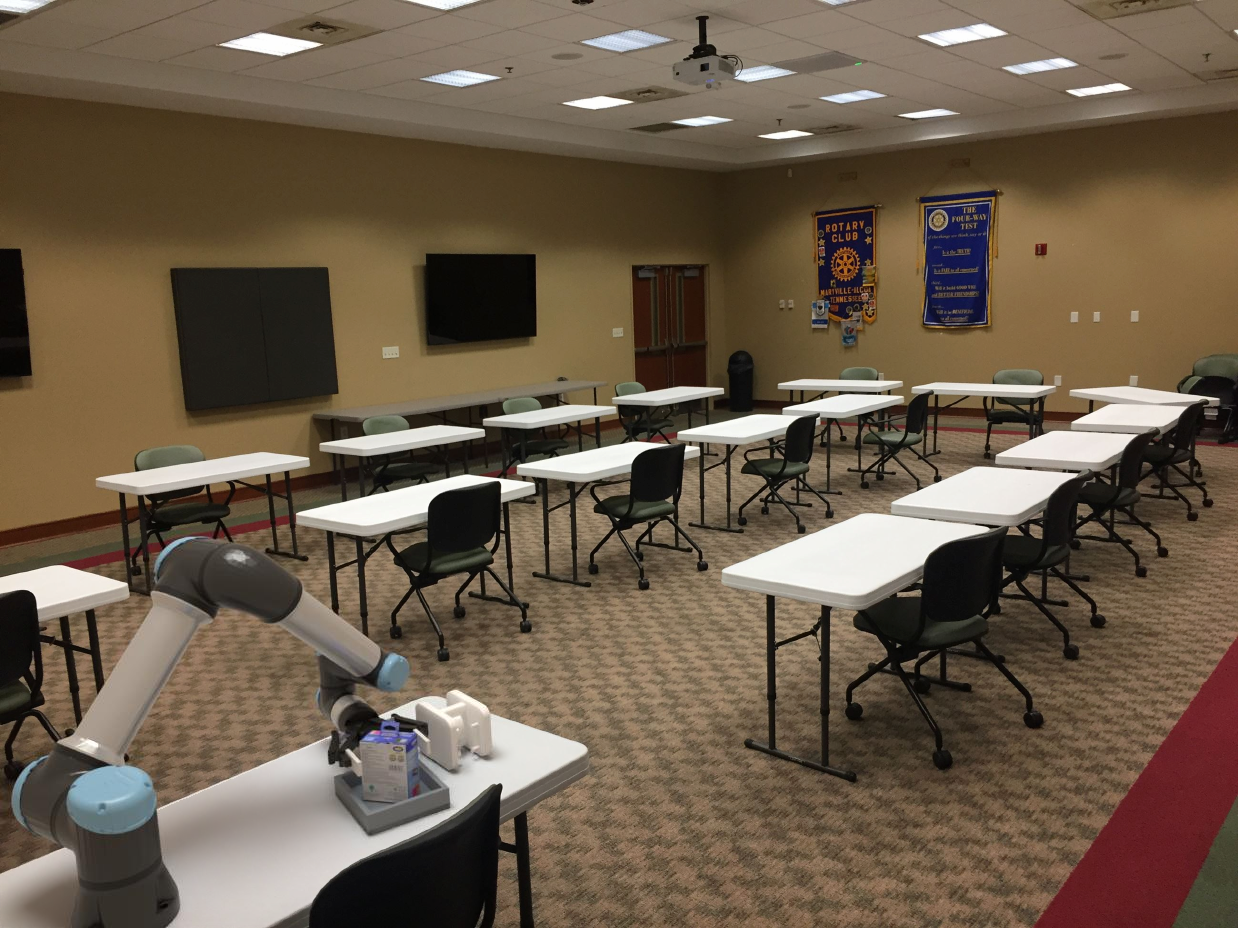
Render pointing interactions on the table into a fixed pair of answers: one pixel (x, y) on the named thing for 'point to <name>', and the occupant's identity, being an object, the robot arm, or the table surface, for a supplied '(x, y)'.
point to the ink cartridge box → (389, 765)
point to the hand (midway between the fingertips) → (395, 758)
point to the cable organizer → (456, 728)
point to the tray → (389, 814)
